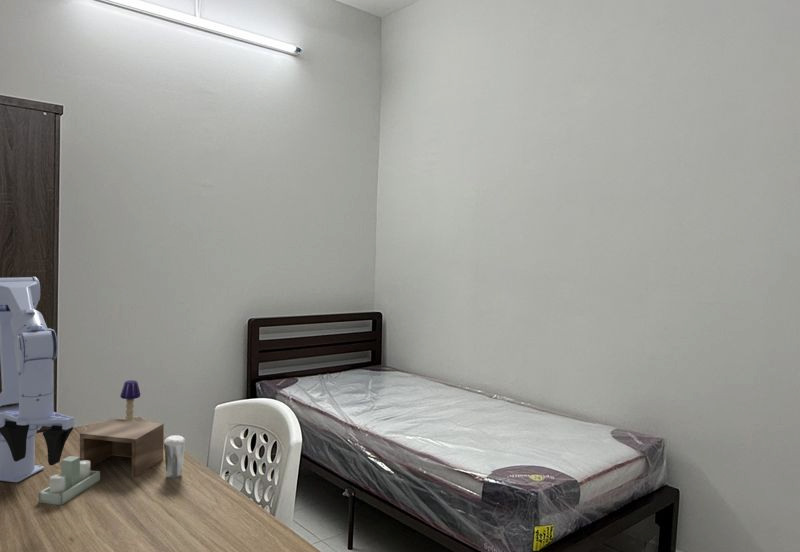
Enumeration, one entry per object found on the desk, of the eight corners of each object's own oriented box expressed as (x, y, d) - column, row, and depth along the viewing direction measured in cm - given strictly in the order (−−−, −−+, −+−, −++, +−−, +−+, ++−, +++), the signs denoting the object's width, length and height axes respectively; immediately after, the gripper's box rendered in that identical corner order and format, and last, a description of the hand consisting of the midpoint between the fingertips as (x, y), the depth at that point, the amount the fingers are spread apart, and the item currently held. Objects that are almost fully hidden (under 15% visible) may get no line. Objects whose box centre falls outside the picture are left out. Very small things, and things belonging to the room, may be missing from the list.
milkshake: (180, 481, 129) (181, 437, 129) (159, 478, 130) (159, 435, 130) (192, 473, 134) (192, 431, 133) (171, 470, 135) (171, 428, 134)
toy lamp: (133, 440, 152) (134, 378, 151) (143, 444, 150) (144, 381, 148) (115, 445, 149) (116, 381, 147) (125, 449, 146) (126, 384, 145)
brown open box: (79, 470, 133) (79, 433, 132) (111, 453, 143) (111, 418, 143) (135, 477, 130) (136, 439, 130) (163, 458, 141) (163, 423, 141)
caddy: (38, 502, 117) (38, 468, 117) (79, 477, 129) (79, 447, 128) (60, 505, 116) (60, 471, 116) (100, 480, 128) (100, 449, 128)
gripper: (-15, 395, 109) (-14, 465, 110) (54, 401, 107) (55, 473, 108) (15, 386, 116) (16, 452, 117) (81, 391, 114) (81, 459, 115)
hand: (36, 461), depth 113 cm, fingers open, 7 cm apart
